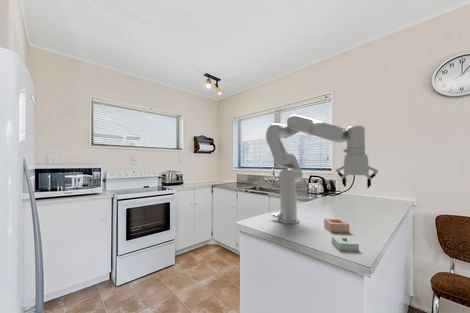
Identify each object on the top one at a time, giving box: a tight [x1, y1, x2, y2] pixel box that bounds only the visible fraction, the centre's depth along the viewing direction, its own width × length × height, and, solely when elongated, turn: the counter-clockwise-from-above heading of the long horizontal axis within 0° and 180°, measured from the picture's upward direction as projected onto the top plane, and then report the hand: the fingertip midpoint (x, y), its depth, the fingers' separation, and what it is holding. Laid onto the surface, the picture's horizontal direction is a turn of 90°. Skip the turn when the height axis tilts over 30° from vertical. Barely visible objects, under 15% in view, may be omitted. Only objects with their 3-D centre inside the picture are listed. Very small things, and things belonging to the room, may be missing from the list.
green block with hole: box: [331, 235, 360, 252], centre depth 83 cm, size 8×8×3 cm
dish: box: [323, 218, 350, 234], centre depth 104 cm, size 9×9×4 cm
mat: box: [330, 241, 351, 252], centre depth 83 cm, size 8×8×1 cm
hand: (356, 187), depth 96 cm, fingers open, 9 cm apart
